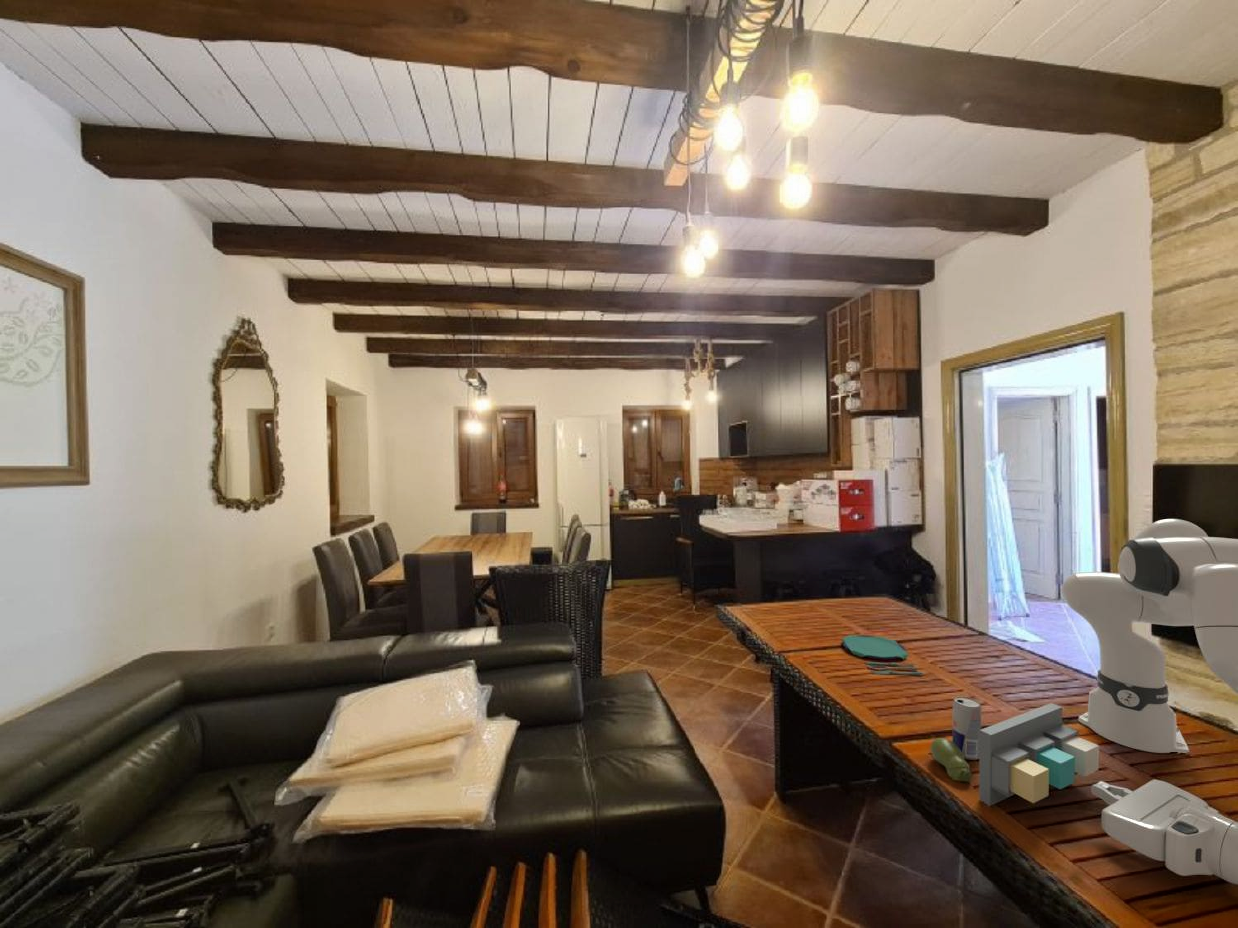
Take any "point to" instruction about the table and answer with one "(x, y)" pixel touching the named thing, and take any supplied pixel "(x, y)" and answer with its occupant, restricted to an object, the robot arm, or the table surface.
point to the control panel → (1017, 747)
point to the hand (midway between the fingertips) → (1095, 786)
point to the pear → (951, 759)
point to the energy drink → (967, 726)
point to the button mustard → (1029, 780)
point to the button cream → (1082, 754)
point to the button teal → (1057, 766)
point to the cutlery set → (878, 652)
